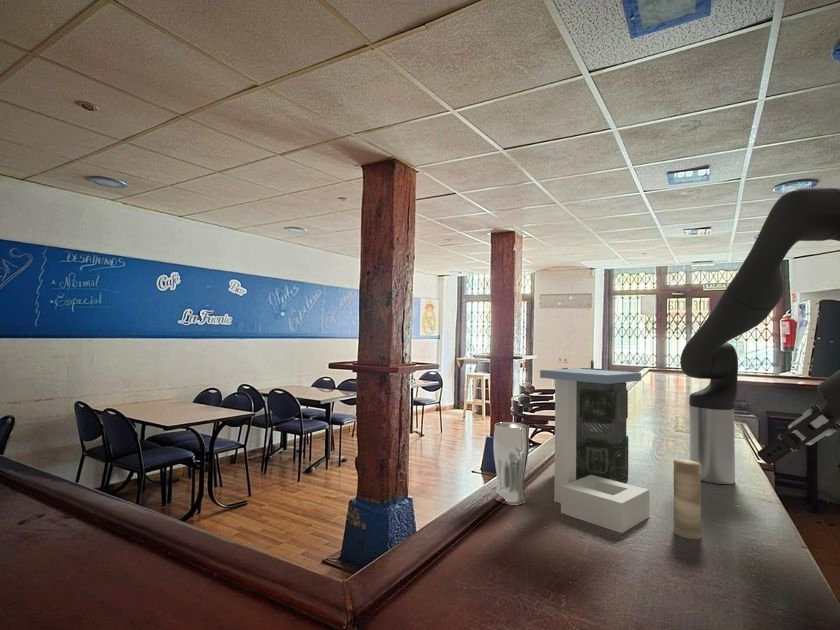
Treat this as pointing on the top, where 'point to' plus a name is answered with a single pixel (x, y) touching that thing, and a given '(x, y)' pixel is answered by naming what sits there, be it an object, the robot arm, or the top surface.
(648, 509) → the kiosk
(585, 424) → the canister
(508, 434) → the beer glass
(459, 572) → the top surface
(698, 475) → the peg
